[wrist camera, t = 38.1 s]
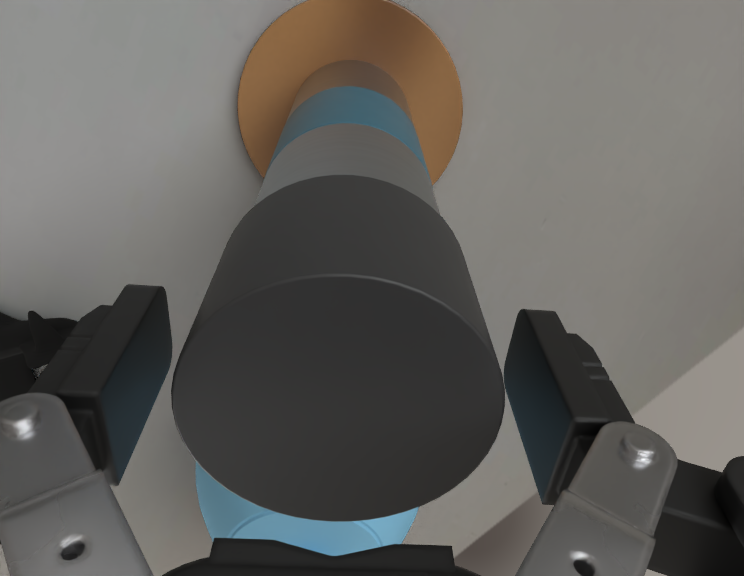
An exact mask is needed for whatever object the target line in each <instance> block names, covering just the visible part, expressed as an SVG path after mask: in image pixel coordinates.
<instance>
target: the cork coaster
mask: <svg viewBox="0 0 744 576" xmlns="http://www.w3.org/2000/svg"><path fill="white" fill-rule="evenodd" d="M342 60H358V61H364V62H367V63H371V64H373V65H375V66H377V67H379V68H381V69H382V70H384V71H386V72H387V73H388V74H389V75H390V76H392V78H393V79H394V80H395V81H396V82H397V83H398V85H399V86H400V88H401V89H402V91H403V93H404V95H405V97H406V100H407V103H408V106H409V109H410V113H411V116H412V120H413V123H414V126H415V130H416V133H417V136H418V138H419V142H420V145H421V149H422V152H423V156H424V159H425V162H426V166H427V169H428V173H429V176H430V180H431V183H432V185H433V184H434V183H435V182H436V181H437V180H438V179H439V177H440V176H441V174H442V173H443V171H444V170H445V169H446V167H447V165H448V163H449V161H450V160H451V158H452V156H453V153H454V151H455V148H456V145H457V143H458V139H459V135H460V130H461V125H462V115H463V104H462V93H461V86H460V81H459V78H458V75H457V71H456V68H455V66H454V64H453V61H452V59H451V57H450V55H449V53H448V51H447V50H446V48H445V46H444V45H443V43H442V42H441V40H440V39H439V38H438V36H437V35H436V34H435V33H434V32H433V30H432V29H431V28H430V27H429V26H428V25H427V24H426V23H425V22H424V21H423V20H421V19H420V18H419V17H418V16H417V15H415V14H414V13H412V12H411V11H409V10H408V9H406V8H405V7H403V6H401V5H399V4H397V3H395V2H393V1H391V0H307V1H305V2H303V3H300V4H298V5H296V6H295V7H293V8H291V9H290V10H288V11H287V12H285V13H284V14H282V15H281V16H280V17H279V18H278V19H277V20H276V21H274V22H273V23H272V24H271V25H270V26H269V27H268V28H267V30H266V31H265V32H264V33H263V34H262V35H261V37H260V38H259V39H258V41H257V43H256V44H255V46H254V47H253V49H252V50H251V52H250V55H249V57H248V59H247V61H246V63H245V66H244V69H243V72H242V76H241V79H240V85H239V91H238V119H239V126H240V131H241V135H242V139H243V142H244V144H245V147H246V150H247V152H248V154H249V156H250V158H251V160H252V162H253V164H254V166H255V167H256V168H257V170H258V171H259V173H260V174H261V176H262V177H263V178H265V175H266V172H267V169H268V167H269V164H270V161H271V159H272V156H273V154H274V151H275V148H276V146H277V143H278V141H279V138H280V135H281V133H282V130H283V128H284V126H285V124H286V121H287V119H288V116H289V113H290V111H291V108H292V106H293V103H294V100H295V98H296V95H297V93H298V91H299V89H300V87H301V86H302V85H303V83H304V82H305V81H306V80H307V78H308V77H309V76H310V75H311V74H313V73H314V72H315V71H316V70H318V69H320V68H321V67H323V66H325V65H327V64H330V63H333V62H337V61H342Z"/></svg>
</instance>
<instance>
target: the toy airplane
mask: <svg viewBox="0 0 744 576" xmlns="http://www.w3.org/2000/svg"><path fill="white" fill-rule="evenodd" d="M77 323H78V322H77V321H74V320H71V319H66V318H50V319H43V318H42V317H41V316H40V315H38V314H37V313H36V312H34V311H29V313H28V320H25V321H21V320H17V319H14V318H11V317H9V316H7V315H5V314H3V313H1V312H0V402H1V401H3V400H6V399H8V398H11V397H14V396H17V395H21V394H27V393H28V391H29V390H30V388H31V387H32V386H33V384H34V383H35V378H34V376H33V373H32V369H31V368H38V367H41V366H43V365H46V364H48V363H49V362H50V361H51V359H52V358H53V356H54V355H55V354H56V352H57V351H58V350H60V349H61V345H62V344H63V343H64V341H65V340H66V338H67V337H70V333H71V332H72V330H73V329H74V327H75V326H76V325H77Z"/></svg>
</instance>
